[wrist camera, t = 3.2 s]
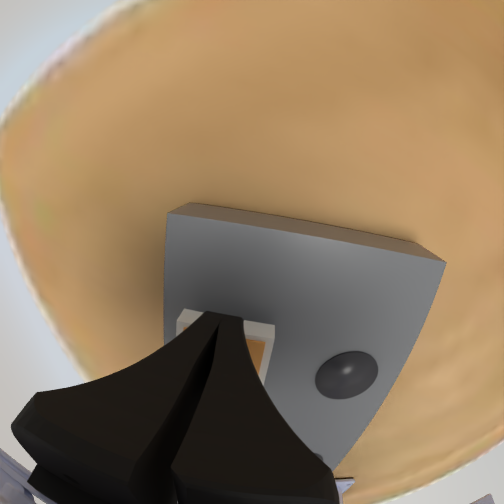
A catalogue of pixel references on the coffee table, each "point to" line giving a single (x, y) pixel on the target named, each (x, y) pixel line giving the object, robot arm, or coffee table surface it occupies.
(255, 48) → the coffee table surface
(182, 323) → the rocker
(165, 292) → the grey switch panel
